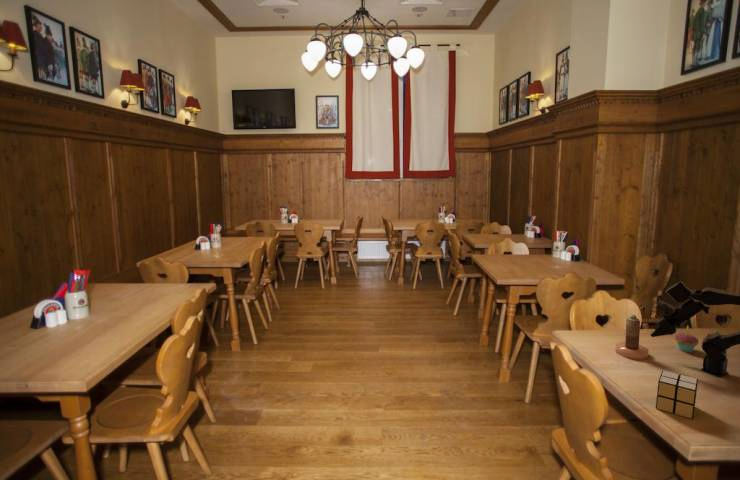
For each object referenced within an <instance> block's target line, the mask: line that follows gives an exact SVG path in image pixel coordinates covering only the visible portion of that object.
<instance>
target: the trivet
mask: <svg viewBox="0 0 740 480" xmlns="http://www.w3.org/2000/svg"><path fill="white" fill-rule="evenodd" d="M614 351H615V353H616V354H617V355H619V356H621V357H623V358H626V359H632V360H637V361H638V360H646V359H648V358H649V349H648V347H646V346H644V345H641V344H639V349H637V350H632V349H628V348H626V347H625V341H622V342H620V341H619V342H618V343H615V350H614Z"/></svg>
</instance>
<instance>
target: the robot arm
mask: <svg viewBox="0 0 740 480" xmlns="http://www.w3.org/2000/svg"><path fill="white" fill-rule="evenodd" d="M664 292H665V293H666V294H667V295H669V296H670V297H671V298H672V300H674V301H675V302H676V303H682V304H680V305H676V306H674V305H672V304H671V303H668V302H666V301H664V300H661V299H660V300H659V301H658V302H657V304H656V305H655V308H654V309H655V310H656V311H660V312H661V313H664V314H663V317H662V318H661V319H660V320H658V324H657V326H655V327H654V331H652V333H650V337H652V338H655V337H656V338H657V337H662V336H673V335H674V334H676V332H677V331H678V327H681V325H683V324H684V323H686V322H688V321H690V320H691V319H692V318H693V317H695V316H696V315H698V314H700V313H701V312H704V313H705V314H706V315H709V313H710V308H711V307H710V306H724V305H725V306H726V305H734V306H740V293H734V292H728V291H725V290H722V289H719V288H715V287H704V288H703V289H690V288H688V287H687V286H686V284H685V283H684V282H683V281H681V280H680V281H679V282H677V283H675V284H673V285H671V286H669V288H667V289H666V290H665V291H664ZM739 345H740V330H739V331H736V332H732V333H728V334H721V333H720V331H716V332H713V333H707V335H706V336H704V337H703V339H702V341H701V349H702V351H703V352H704V353H705V355H704V357H703V361H702V368H700V370H701V371H702V372H706V373H708V374H710V375H713V376H716V377H723V376H726V375H729V374H730V373H729V371H727V368H728V362H729V359H728V358H727V356H728V353H727V352H728V351H727V350H729V349H730V348H733V347H734V346H739Z"/></svg>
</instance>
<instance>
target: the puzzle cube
mask: <svg viewBox="0 0 740 480" xmlns="http://www.w3.org/2000/svg"><path fill="white" fill-rule="evenodd" d="M698 383H699V379H698V378H696V377H691V376H687V375H682V374H681V375H680V374H679V373H674V372H670V371H666V370H662V371H661V373H660V375H659V379H658V383H657V391H656V400H655V401H656V402H655V409H656V410H660V411H662V412H666V413H669V414H674V415H677V416H680V417H684V418H687V419H690V420H693V419H694V415H695V408H696V400H697V392H698Z"/></svg>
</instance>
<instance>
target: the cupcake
mask: <svg viewBox="0 0 740 480" xmlns="http://www.w3.org/2000/svg"><path fill="white" fill-rule="evenodd" d="M689 329H690V328H689V325H687V326H686V332H685V333H684V332H683V333H682V332H681V333H678V334H676V335H675V336H674V341H676V344H677V345H678V349H679V350H680V351H682V352H685V353H691V352H693V351H694V349H695V348H696V346H698V345H699V339H698V338H697V337H696V336H694V335H692V334H690V333H689Z"/></svg>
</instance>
